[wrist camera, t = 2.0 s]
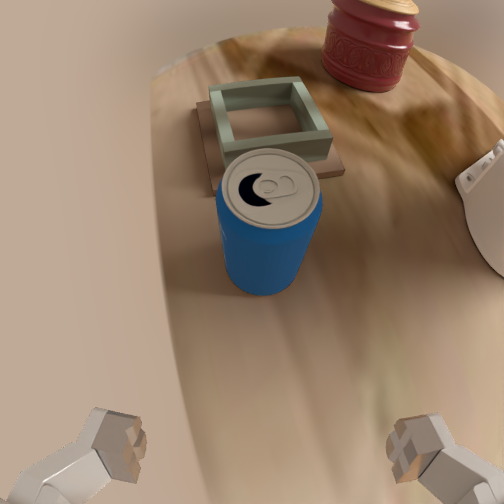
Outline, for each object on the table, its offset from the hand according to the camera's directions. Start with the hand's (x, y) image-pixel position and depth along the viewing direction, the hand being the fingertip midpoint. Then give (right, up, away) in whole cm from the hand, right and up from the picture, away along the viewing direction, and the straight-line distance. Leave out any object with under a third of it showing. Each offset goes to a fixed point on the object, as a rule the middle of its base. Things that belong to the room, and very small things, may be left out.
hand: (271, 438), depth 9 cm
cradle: (+1, +19, +27) cm, 33 cm away
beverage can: (0, +5, +21) cm, 21 cm away
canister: (+16, +34, +34) cm, 51 cm away
